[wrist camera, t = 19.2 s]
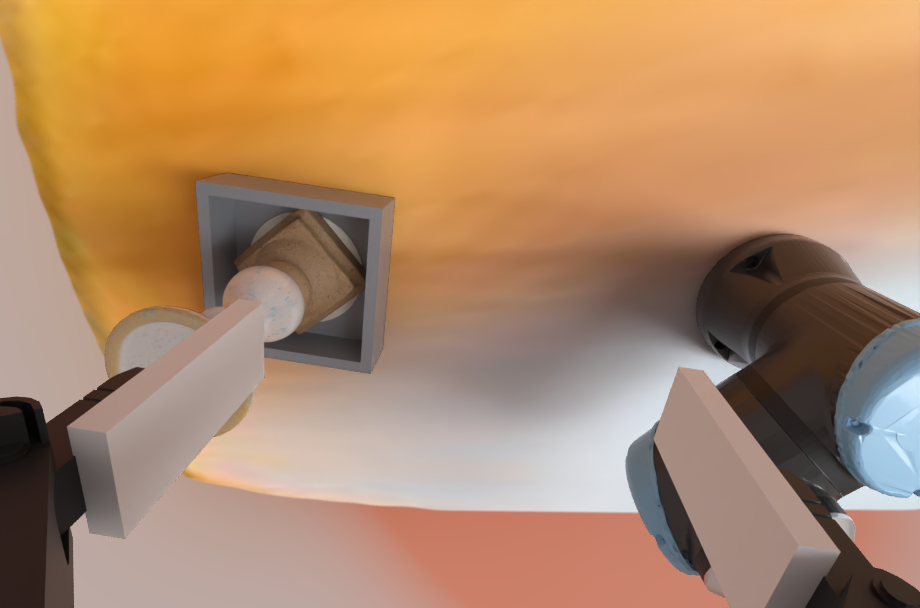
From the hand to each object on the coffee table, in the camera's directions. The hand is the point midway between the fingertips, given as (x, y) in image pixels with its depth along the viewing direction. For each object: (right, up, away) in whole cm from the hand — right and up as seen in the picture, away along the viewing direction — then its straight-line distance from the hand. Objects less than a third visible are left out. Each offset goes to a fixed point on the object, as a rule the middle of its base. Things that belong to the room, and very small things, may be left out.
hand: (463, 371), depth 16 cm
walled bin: (-17, +7, +41) cm, 45 cm away
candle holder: (-17, +6, +40) cm, 44 cm away
